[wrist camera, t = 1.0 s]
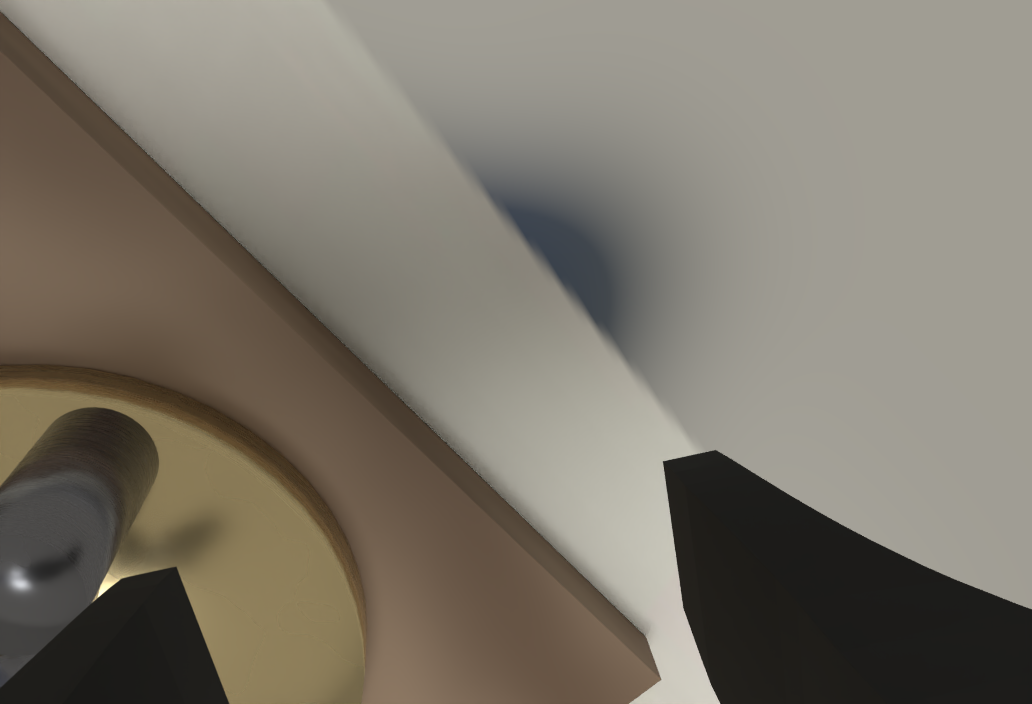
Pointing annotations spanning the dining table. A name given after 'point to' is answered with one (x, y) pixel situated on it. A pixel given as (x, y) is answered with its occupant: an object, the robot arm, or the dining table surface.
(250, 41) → the dining table surface
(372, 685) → the walnut stand
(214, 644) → the dial
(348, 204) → the dining table surface
